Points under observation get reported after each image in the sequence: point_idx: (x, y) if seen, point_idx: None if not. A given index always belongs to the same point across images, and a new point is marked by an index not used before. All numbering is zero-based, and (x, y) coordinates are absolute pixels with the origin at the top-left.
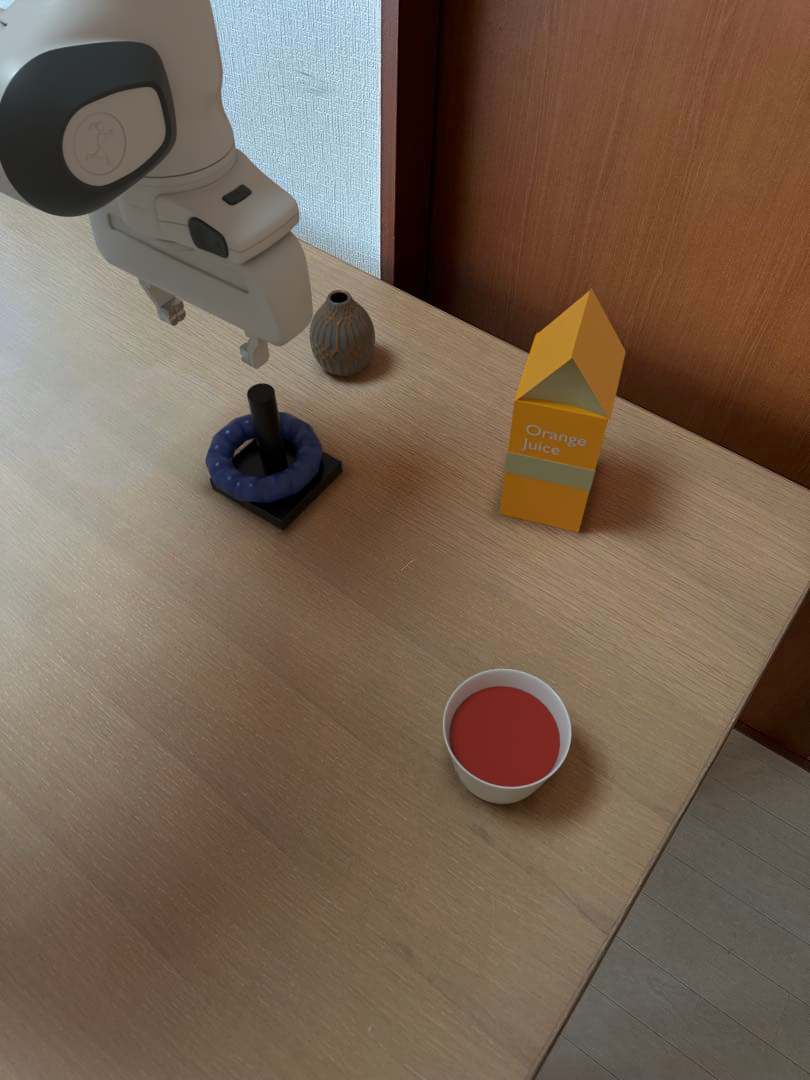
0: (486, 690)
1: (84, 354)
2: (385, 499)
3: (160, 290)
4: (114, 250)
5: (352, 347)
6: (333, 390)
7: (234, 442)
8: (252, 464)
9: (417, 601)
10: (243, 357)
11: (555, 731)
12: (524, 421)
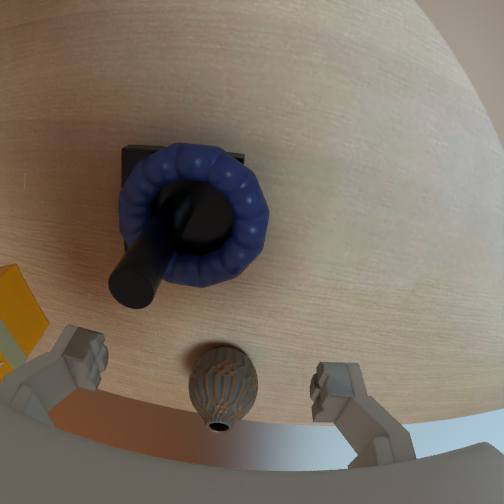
0: None
1: (478, 265)
2: (78, 235)
3: (360, 431)
4: (469, 500)
5: (193, 380)
6: (213, 331)
7: (234, 219)
8: (208, 204)
9: (2, 154)
10: (87, 341)
11: None
12: None
